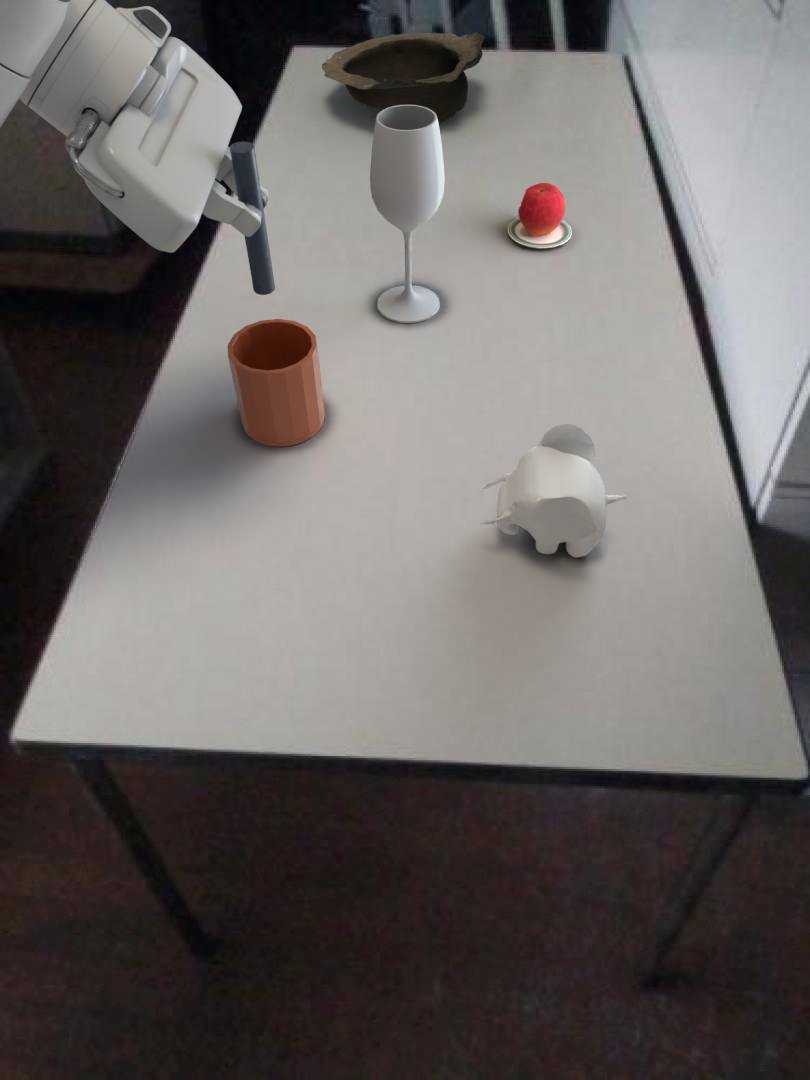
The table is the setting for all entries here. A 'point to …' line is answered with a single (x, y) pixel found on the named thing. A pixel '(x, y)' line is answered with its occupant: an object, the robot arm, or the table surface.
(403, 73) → the stone bowl
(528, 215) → the apple
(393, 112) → the wineglass
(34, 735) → the table surface
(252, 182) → the rod
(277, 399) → the cup
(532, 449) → the elephant figurine
